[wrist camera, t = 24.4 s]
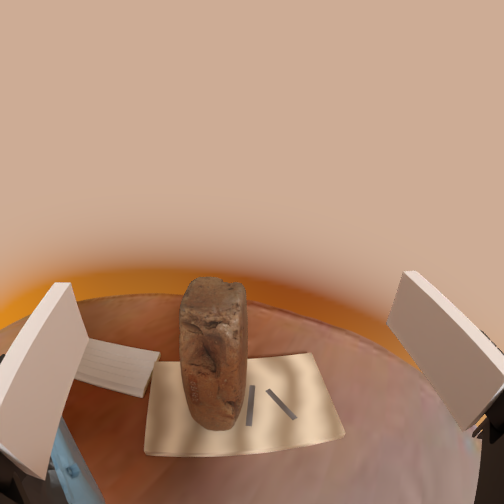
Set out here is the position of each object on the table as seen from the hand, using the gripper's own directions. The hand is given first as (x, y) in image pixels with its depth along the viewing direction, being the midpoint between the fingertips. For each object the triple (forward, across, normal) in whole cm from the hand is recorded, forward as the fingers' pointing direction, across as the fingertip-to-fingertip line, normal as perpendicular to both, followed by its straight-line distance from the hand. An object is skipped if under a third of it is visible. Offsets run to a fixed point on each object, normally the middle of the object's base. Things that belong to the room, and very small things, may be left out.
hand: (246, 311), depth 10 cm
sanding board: (+18, +2, -32) cm, 37 cm away
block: (+17, -1, -31) cm, 35 cm away
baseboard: (+27, -28, -33) cm, 51 cm away
